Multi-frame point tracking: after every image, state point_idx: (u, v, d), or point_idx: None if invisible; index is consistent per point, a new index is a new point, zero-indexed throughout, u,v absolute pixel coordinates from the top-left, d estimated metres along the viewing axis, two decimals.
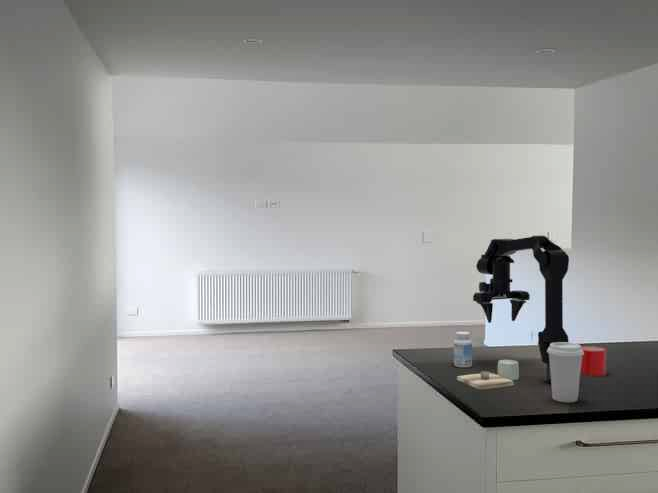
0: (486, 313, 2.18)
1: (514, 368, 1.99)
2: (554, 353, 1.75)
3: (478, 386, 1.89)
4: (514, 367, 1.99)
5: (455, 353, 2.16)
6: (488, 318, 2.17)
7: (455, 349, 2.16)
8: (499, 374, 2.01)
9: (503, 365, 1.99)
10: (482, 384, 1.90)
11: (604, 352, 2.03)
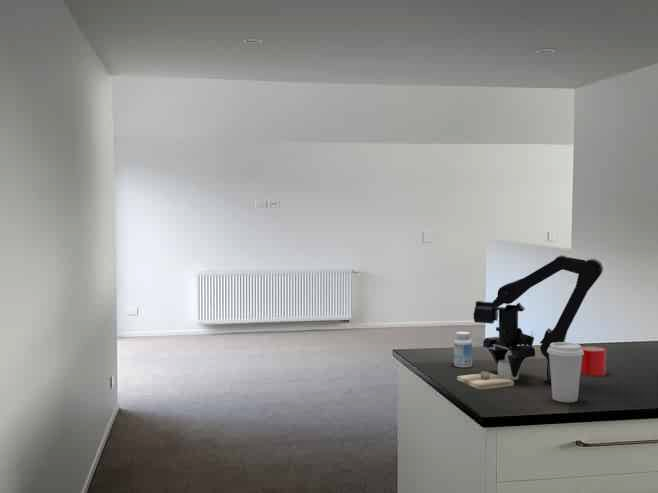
0: None
1: None
2: (554, 353, 1.75)
3: (478, 386, 1.89)
4: None
5: (455, 353, 2.16)
6: None
7: (455, 349, 2.16)
8: (499, 374, 2.01)
9: (503, 365, 1.99)
10: (482, 384, 1.90)
11: (604, 352, 2.03)
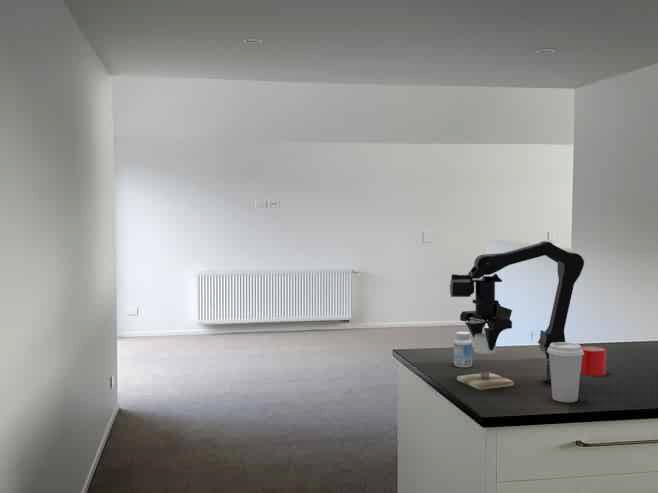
0: None
1: None
2: (554, 353, 1.75)
3: (478, 386, 1.89)
4: None
5: (455, 353, 2.16)
6: None
7: (455, 349, 2.16)
8: (476, 348, 1.95)
9: (479, 338, 1.93)
10: (482, 384, 1.90)
11: (604, 352, 2.03)
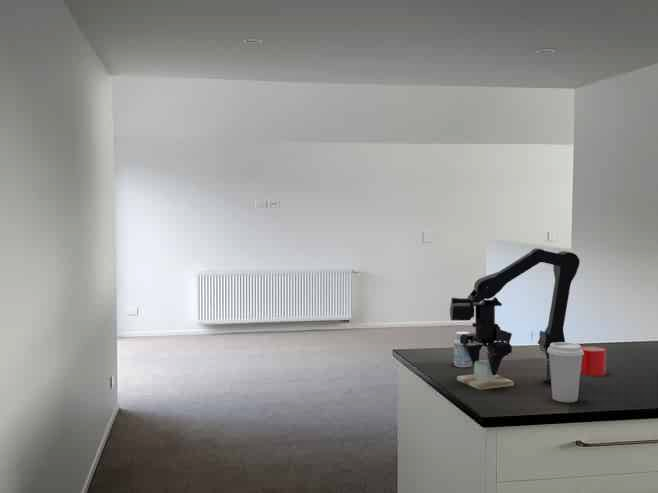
0: None
1: None
2: (554, 353, 1.75)
3: (478, 386, 1.89)
4: None
5: (455, 353, 2.16)
6: None
7: (455, 349, 2.16)
8: (475, 375, 1.95)
9: (479, 366, 1.93)
10: (482, 384, 1.90)
11: (604, 352, 2.03)
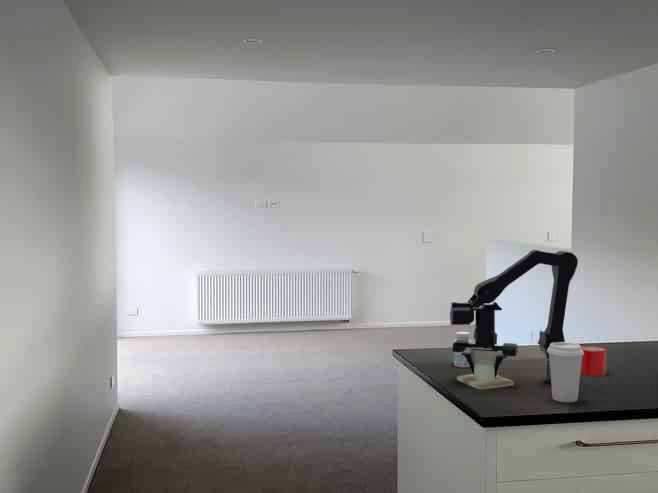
0: None
1: (491, 369, 1.93)
2: (554, 353, 1.75)
3: (478, 386, 1.89)
4: (491, 368, 1.93)
5: (455, 353, 2.16)
6: None
7: None
8: (475, 375, 1.95)
9: (479, 366, 1.93)
10: (482, 384, 1.90)
11: (604, 352, 2.03)
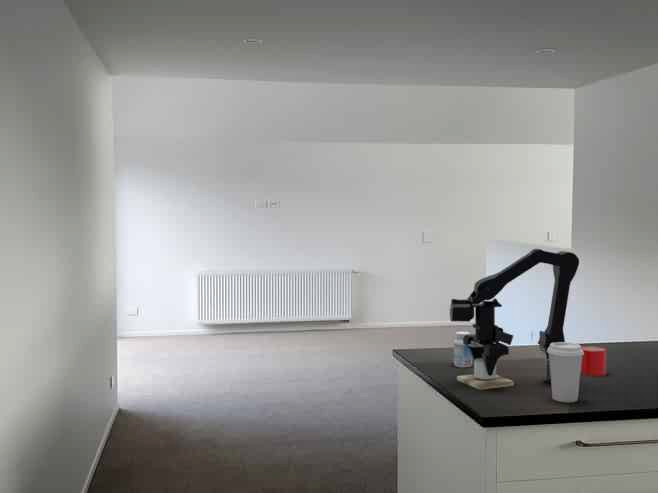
0: None
1: (475, 365, 1.96)
2: (554, 353, 1.75)
3: (478, 386, 1.89)
4: (475, 364, 1.96)
5: (455, 353, 2.16)
6: None
7: (455, 349, 2.16)
8: None
9: None
10: (482, 384, 1.90)
11: (604, 352, 2.03)
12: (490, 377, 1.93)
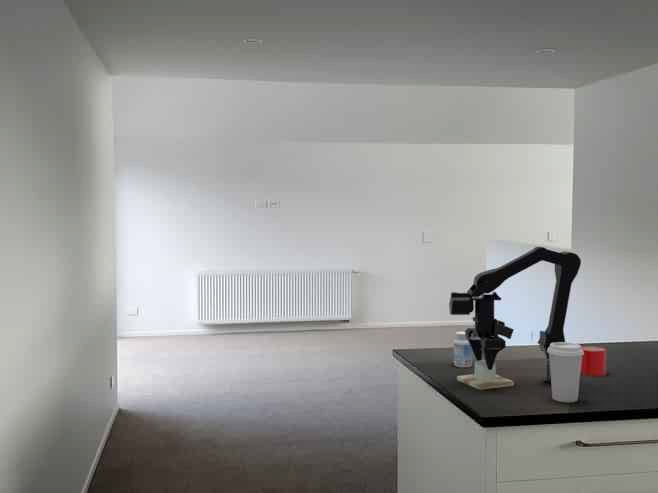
0: None
1: None
2: (554, 353, 1.75)
3: (478, 386, 1.89)
4: (475, 366, 1.96)
5: (455, 353, 2.16)
6: None
7: (455, 349, 2.16)
8: None
9: None
10: (482, 384, 1.90)
11: (604, 352, 2.03)
12: (489, 379, 1.93)
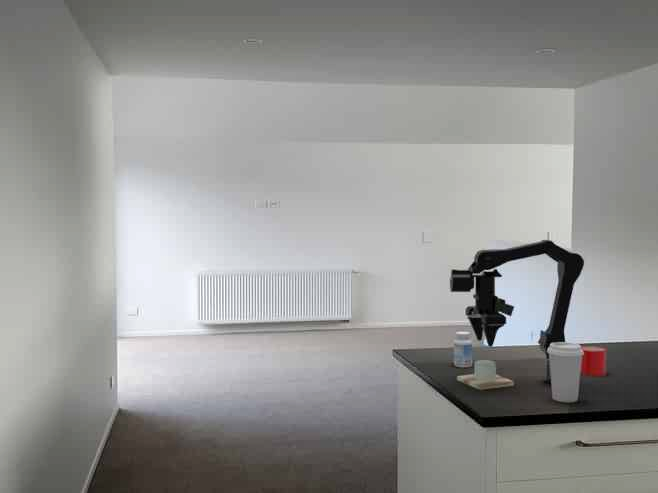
0: None
1: None
2: (554, 353, 1.75)
3: (478, 386, 1.89)
4: (475, 366, 1.96)
5: (455, 353, 2.16)
6: None
7: (455, 349, 2.16)
8: None
9: None
10: (482, 384, 1.90)
11: (604, 352, 2.03)
12: (489, 379, 1.93)
